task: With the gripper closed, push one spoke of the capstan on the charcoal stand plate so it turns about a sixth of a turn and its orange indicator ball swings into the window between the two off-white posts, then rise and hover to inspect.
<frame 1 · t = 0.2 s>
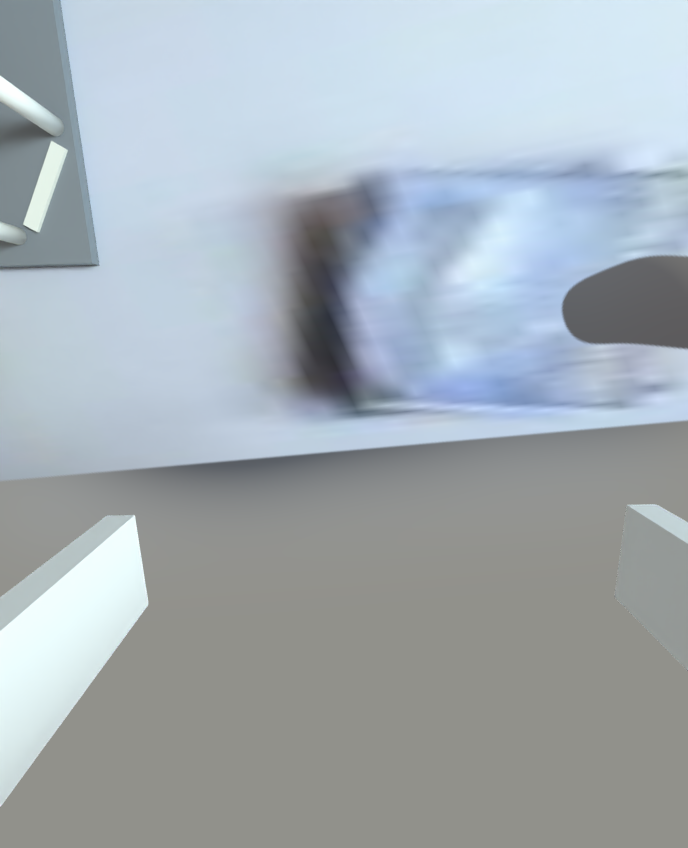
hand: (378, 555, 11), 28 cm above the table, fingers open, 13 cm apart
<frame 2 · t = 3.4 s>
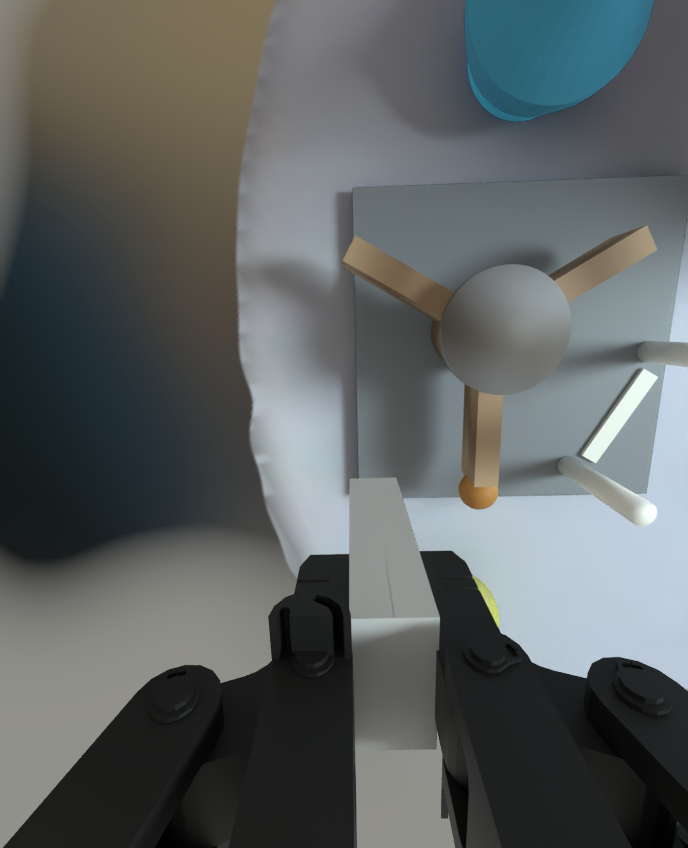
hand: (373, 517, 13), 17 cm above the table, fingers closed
capstan: (482, 381, 25), point 5 cm above the table, hinge at 0.0°
fruit: (440, 582, 33), on the table
perfume bottle: (521, 61, 25), on the table
stand: (463, 330, 29), on the table
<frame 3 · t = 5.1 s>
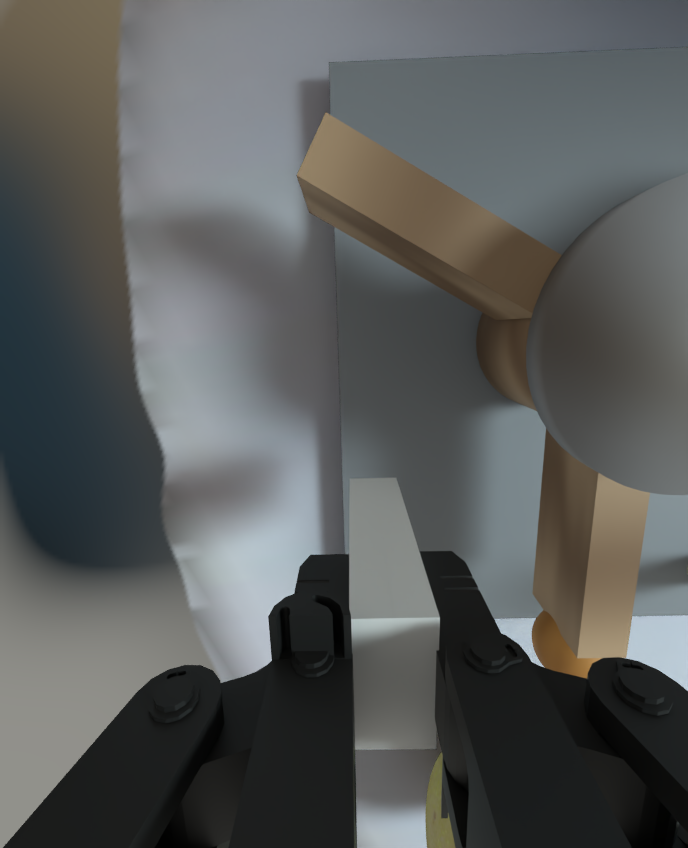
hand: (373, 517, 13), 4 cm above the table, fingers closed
capstan: (591, 441, 12), point 5 cm above the table, hinge at 0.0°
fruit: (479, 737, 21), on the table
stand: (528, 336, 16), on the table
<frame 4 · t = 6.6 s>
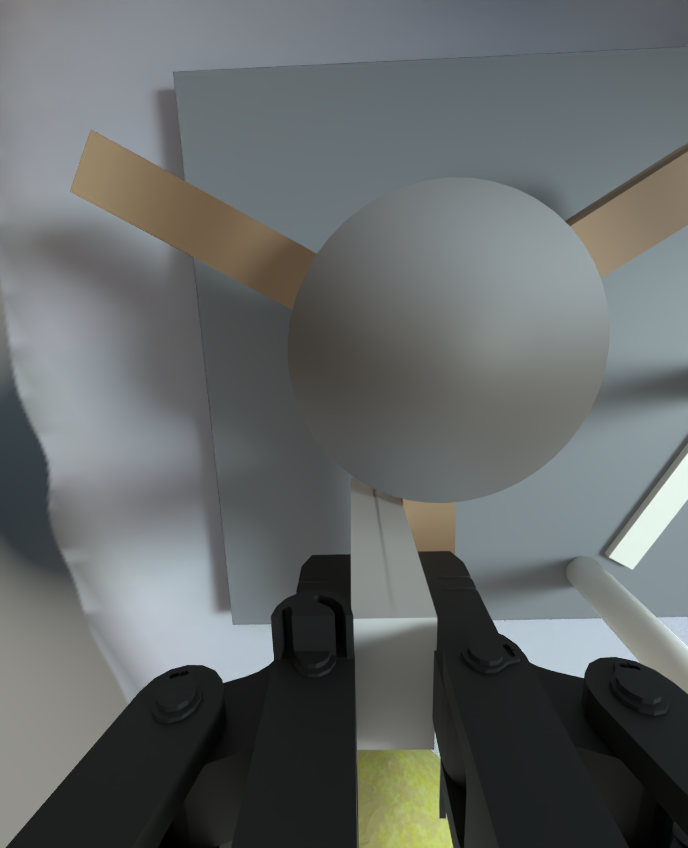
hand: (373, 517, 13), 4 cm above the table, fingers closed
capstan: (419, 448, 12), point 5 cm above the table, hinge at 0.6°, touching gripper
fruit: (380, 740, 21), on the table
stand: (399, 342, 16), on the table
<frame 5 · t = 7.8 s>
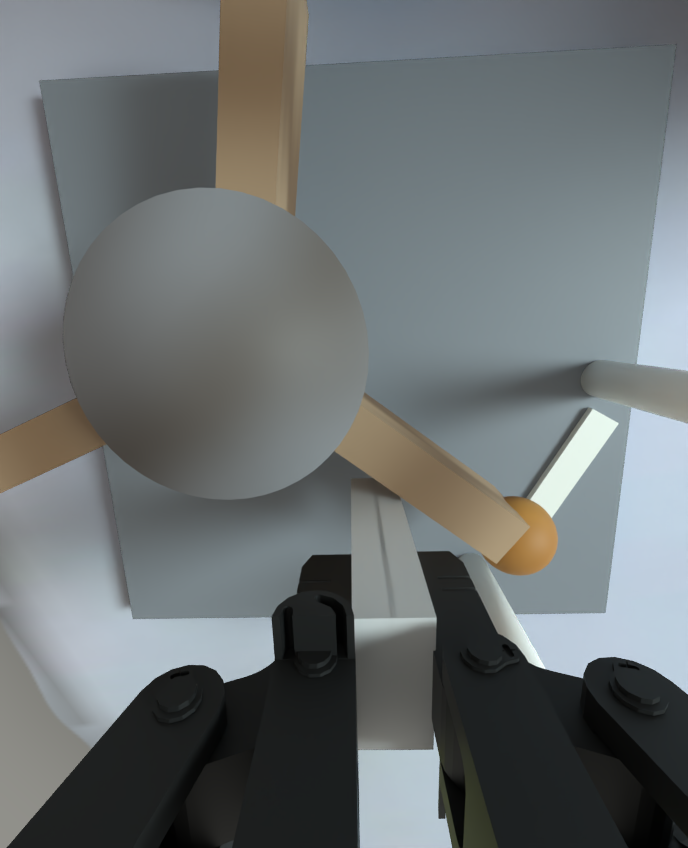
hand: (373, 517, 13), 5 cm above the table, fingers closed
capstan: (337, 407, 12), point 5 cm above the table, hinge at 52.3°, touching gripper
stand: (283, 342, 17), on the table
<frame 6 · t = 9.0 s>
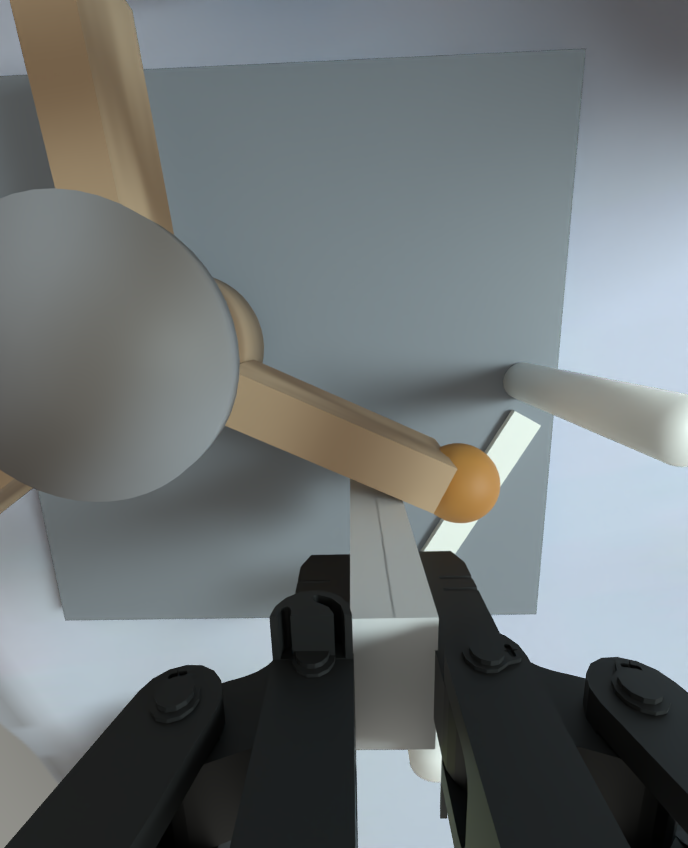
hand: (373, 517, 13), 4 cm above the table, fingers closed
capstan: (248, 391, 12), point 5 cm above the table, hinge at 64.5°, touching gripper
stand: (210, 343, 17), on the table
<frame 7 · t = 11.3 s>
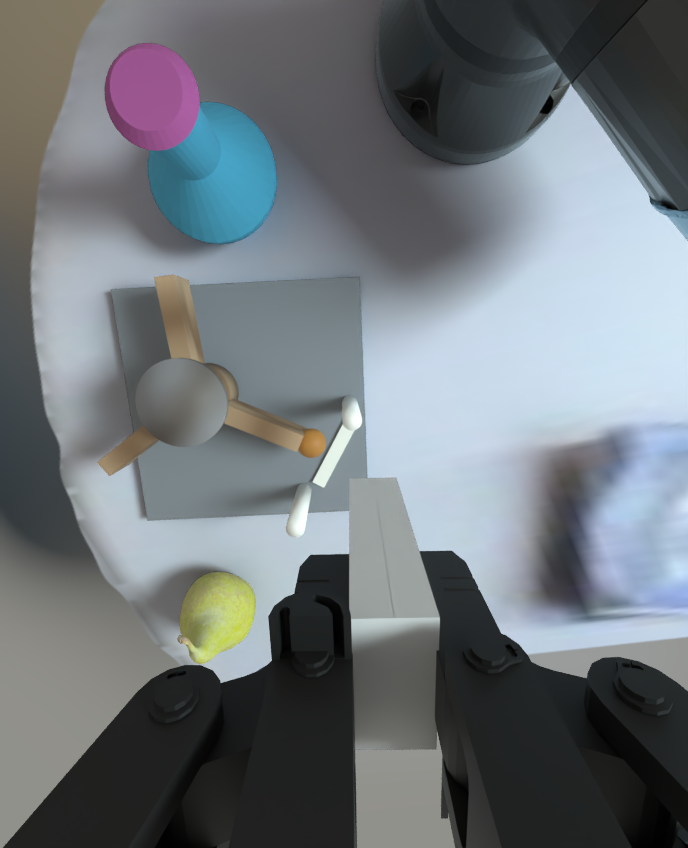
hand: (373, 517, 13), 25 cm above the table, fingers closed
capstan: (231, 411, 33), point 5 cm above the table, hinge at 64.6°
fruit: (228, 585, 42), on the table
perfume bottle: (230, 197, 34), on the table
stand: (215, 389, 37), on the table
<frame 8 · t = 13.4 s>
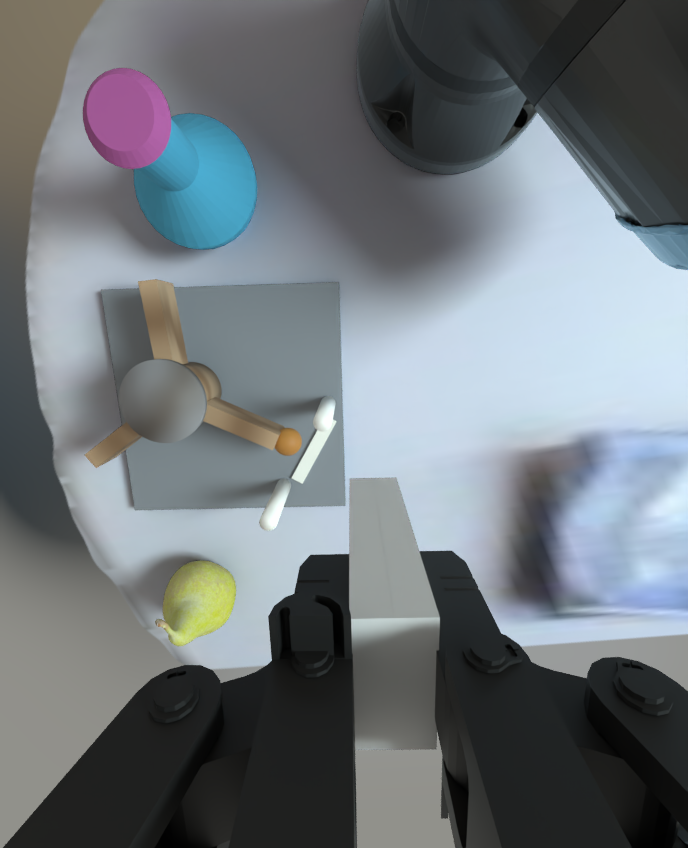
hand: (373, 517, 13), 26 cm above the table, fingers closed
capstan: (212, 409, 35), point 5 cm above the table, hinge at 64.6°
fruit: (211, 573, 44), on the table
perfume bottle: (215, 202, 36), on the table
stand: (200, 387, 39), on the table
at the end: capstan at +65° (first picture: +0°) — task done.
